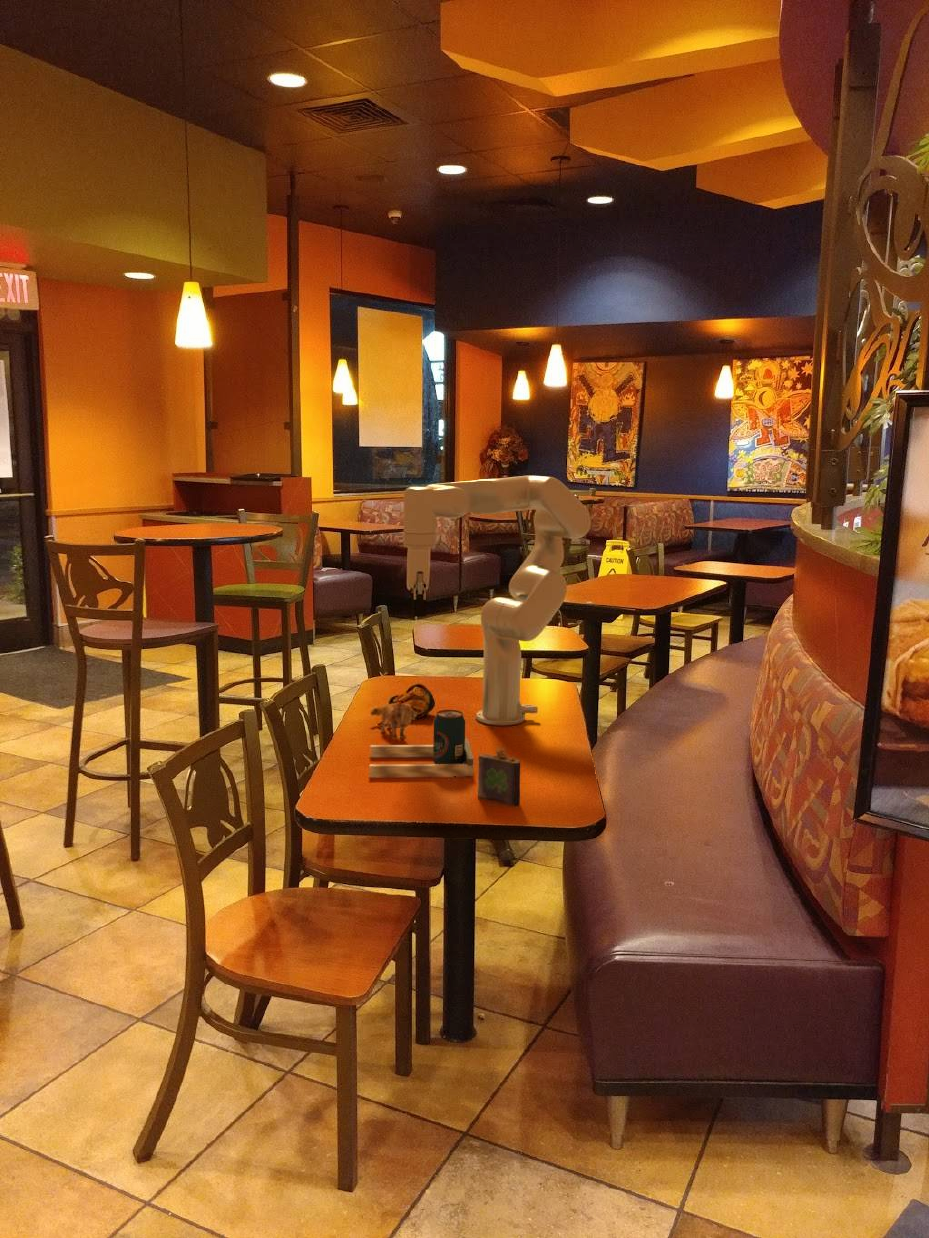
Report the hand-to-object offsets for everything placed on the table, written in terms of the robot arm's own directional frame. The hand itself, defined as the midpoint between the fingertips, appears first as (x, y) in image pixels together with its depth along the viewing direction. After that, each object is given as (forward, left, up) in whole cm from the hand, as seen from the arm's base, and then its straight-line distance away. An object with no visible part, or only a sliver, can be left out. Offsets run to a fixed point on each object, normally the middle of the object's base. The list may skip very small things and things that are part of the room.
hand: (418, 612), depth 230 cm
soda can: (-6, +22, -31) cm, 38 cm away
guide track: (0, +22, -30) cm, 37 cm away
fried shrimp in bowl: (+3, -15, -31) cm, 34 cm away
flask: (-15, +43, -31) cm, 55 cm away
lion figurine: (+5, -1, -31) cm, 31 cm away
